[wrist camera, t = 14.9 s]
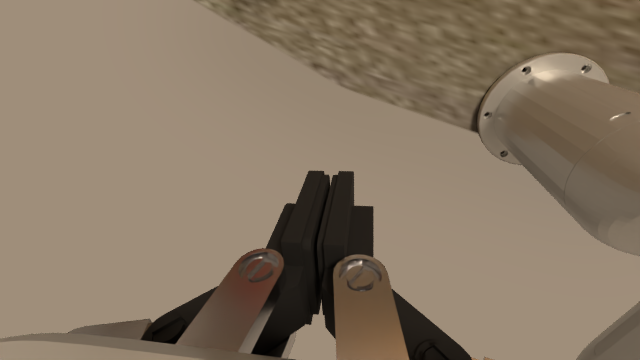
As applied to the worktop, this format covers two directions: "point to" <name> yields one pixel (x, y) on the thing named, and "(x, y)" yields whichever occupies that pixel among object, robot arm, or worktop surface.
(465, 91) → the worktop surface
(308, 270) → the robot arm
